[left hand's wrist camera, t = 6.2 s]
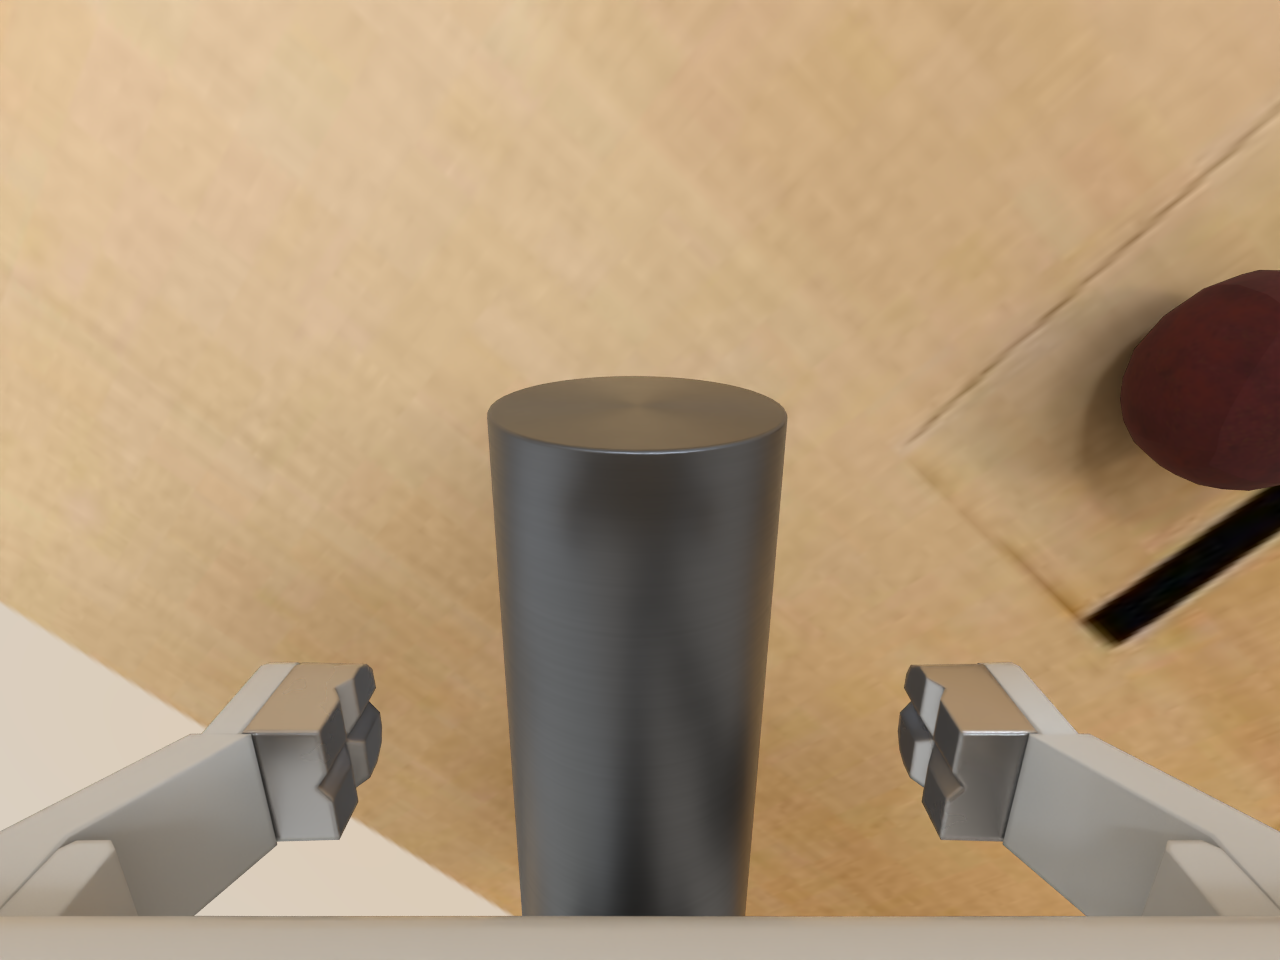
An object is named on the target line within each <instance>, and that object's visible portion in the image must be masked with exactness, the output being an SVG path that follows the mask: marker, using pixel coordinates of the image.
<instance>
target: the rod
mask: <svg viewBox="0 0 1280 960" xmlns="http://www.w3.org/2000/svg"><path fill="white" fill-rule="evenodd" d="M487 420H488V434H489V449H490V463H491V477H492V491H493V506H494V520H495V534H496V548H497V562H498V577H499V591H500V605H501V619H502V633H503V648H504V662H505V676H506V690H507V705H508V719H509V733H510V747H511V761H512V776H513V790H514V804H515V818H516V832H517V847H518V861H519V875H520V889H521V903H522V916H745V909H746V898H747V886H748V874H749V862H750V851H751V839H752V827H753V815H754V804H755V792H756V780H757V768H758V757H759V745H760V733H761V721H762V710H763V698H764V686H765V675H766V663H767V651H768V639H769V628H770V616H771V604H772V592H773V581H774V569H775V557H776V545H777V534H778V522H779V510H780V498H781V487H782V475H783V463H784V451H785V440H786V428H787V414H786V412H785V410H784V408H783V407H782V406H781V405H780V404H779V403H777V402H776V401H774V400H773V399H771V398H769V397H766V396H764V395H762V394H759V393H756V392H753V391H750V390H747V389H743V388H740V387H735V386H731V385H726V384H721V383H715V382H709V381H702V380H693V379H683V378H670V377H647V376H619V377H596V378H584V379H574V380H566V381H559V382H552V383H547V384H542V385H537V386H533V387H529V388H525V389H522V390H519V391H516V392H513V393H511V394H508V395H506V396H504V397H502V398H500V399H499V400H497V401H496V402H495V403H493V404H492V405H491V407H490V409H489V410H488V415H487Z"/></svg>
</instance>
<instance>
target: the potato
mask: <svg viewBox="0 0 1280 960" xmlns="http://www.w3.org/2000/svg"><path fill="white" fill-rule="evenodd" d="M1120 401H1121V408H1122V414H1123V420H1124V423H1125V425H1126V427H1127V429H1128V431H1129V433H1130V435H1131V437H1132V439H1133V441H1134V442H1135V443H1136V444H1137V445H1138V446H1139V447H1140V448H1141V449H1142V450H1143V451H1144V452H1145V453H1146V454H1147V455H1149V456H1150V457H1151V458H1152V459H1153V460H1154V461H1155V462H1156V463H1158V464H1159V465H1160V466H1162V467H1163V468H1165V469H1167V470H1168V471H1170V472H1172V473H1174V474H1175V475H1178V476H1180V477H1182V478H1184V479H1187V480H1189V481H1191V482H1194V483H1196V484H1198V485H1204V486H1209V487H1214V488H1220V489H1230V490H1246V491H1250V490H1255V489H1261V488H1266V487H1272V486H1277V485H1280V270H1257V271H1253V272H1250V273H1246V274H1242V275H1239V276H1236V277H1234V278H1231V279H1228V280H1226V281H1223V282H1220V283H1218V284H1215V285H1212V286H1210V287H1207V288H1204V289H1202V290H1201V291H1200V292H1198V293H1197V294H1195V295H1194V296H1192V297H1191V298H1189V299H1188V300H1186V301H1185V302H1183V303H1182V304H1181V305H1179V306H1178V307H1176V308H1175V309H1173V310H1172V311H1170V312H1169V313H1167V314H1166V315H1165V316H1163V317H1162V319H1161V320H1160V321H1159V322H1158V323H1157V324H1156V325H1155V327H1154V328H1153V329H1152V330H1151V331H1150V332H1149V333H1148V334H1147V336H1146V337H1145V338H1144V339H1143V340H1142V341H1141V342H1140V343H1139V345H1138V346H1137V347H1136V348H1135V349H1134V351H1133V354H1132V357H1131V359H1130V362H1129V364H1128V367H1127V369H1126V371H1125V374H1124V376H1123V381H1122V389H1121V397H1120Z"/></svg>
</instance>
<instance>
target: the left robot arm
mask: <svg viewBox="0 0 1280 960" xmlns="http://www.w3.org/2000/svg"><path fill="white" fill-rule="evenodd" d="M375 689H376V685H375V680H374V675H373V670H372V669H371V668H370V667H369V666H368V665H367V664H341V663H267V664H264V665H261V666H260V667H259V668H258V670H257V671H256V672H255V673H254V674H253V675H252V676H251V678H250V679H249V680H248V681H247V682H246V683H245V684H244V686H243V687H242V688H241V689H240V690H239V691H238V692H237V694H236V695H235V696H234V697H233V698H232V699H231V700H230V702H229V703H228V704H227V705H226V706H225V707H224V708H223V710H222V711H221V712H220V713H219V714H218V715H217V716H216V718H215V719H214V720H213V721H212V722H211V723H210V724H209V726H208V727H207V728H206V729H205V730H204V731H203V732H202V734H189V735H187V736H185V737H183V738H181V739H180V740H178V741H176V742H174V743H172V744H170V745H168V746H166V747H164V748H162V749H160V750H158V751H156V752H154V753H152V754H150V755H148V756H146V757H144V758H142V759H140V760H139V761H137V762H135V763H133V764H131V765H129V766H127V767H125V768H123V769H121V770H119V771H117V772H115V773H113V774H111V775H109V776H107V777H105V778H103V779H101V780H100V781H98V782H96V783H94V784H92V785H90V786H88V787H86V788H84V789H82V790H80V791H78V792H76V793H74V794H72V795H70V796H68V797H66V798H64V799H63V800H61V801H59V802H57V803H55V804H53V805H51V806H49V807H47V808H45V809H43V810H41V811H39V812H37V813H35V814H33V815H31V816H29V817H27V818H25V819H24V820H21V821H20V822H18V823H16V824H14V825H12V826H10V827H8V828H6V829H4V830H2V831H0V960H1280V832H1279V831H1277V830H1276V829H1274V828H1272V827H1270V826H1268V825H1266V824H1264V823H1262V822H1260V821H1258V820H1256V819H1254V818H1252V817H1250V816H1248V815H1246V814H1244V813H1242V812H1241V811H1239V810H1237V809H1235V808H1233V807H1231V806H1229V805H1227V804H1225V803H1223V802H1221V801H1219V800H1217V799H1215V798H1213V797H1211V796H1209V795H1207V794H1206V793H1204V792H1202V791H1200V790H1198V789H1196V788H1194V787H1192V786H1190V785H1188V784H1186V783H1184V782H1182V781H1180V780H1178V779H1176V778H1174V777H1172V776H1170V775H1169V774H1167V773H1165V772H1163V771H1161V770H1159V769H1157V768H1155V767H1153V766H1151V765H1149V764H1147V763H1145V762H1143V761H1141V760H1139V759H1137V758H1135V757H1134V756H1132V755H1130V754H1128V753H1126V752H1124V751H1122V750H1120V749H1118V748H1116V747H1114V746H1112V745H1110V744H1108V743H1106V742H1104V741H1102V740H1100V739H1099V738H1097V737H1095V736H1093V735H1091V734H1078V733H1077V731H1076V730H1075V729H1074V728H1073V727H1072V726H1071V725H1070V723H1069V722H1068V721H1067V720H1066V719H1065V718H1064V717H1063V715H1062V714H1061V713H1060V712H1059V711H1058V710H1057V708H1056V707H1055V706H1054V705H1053V704H1052V703H1051V702H1050V700H1049V699H1048V698H1047V697H1046V696H1045V695H1044V694H1043V692H1042V691H1041V690H1040V689H1039V688H1038V687H1037V686H1036V684H1035V683H1034V682H1033V681H1032V680H1031V679H1030V678H1029V676H1028V675H1027V674H1026V673H1025V672H1024V671H1023V670H1022V668H1021V667H1020V666H1018V665H1016V664H1014V663H1012V662H999V663H978V664H940V665H911V666H910V668H909V670H908V672H907V674H906V679H905V685H904V689H905V691H906V692H907V694H908V696H909V698H910V699H911V702H910V703H909V704H908V705H907V706H906V707H905V708H904V709H903V710H902V711H901V712H900V718H899V726H898V738H899V749H900V753H901V757H902V760H903V764H904V766H905V768H906V770H907V772H908V774H909V777H910V778H911V779H913V780H914V781H916V782H917V783H918V784H920V785H921V786H922V787H924V791H923V797H922V803H923V805H924V807H925V809H926V811H927V813H928V815H929V817H930V819H931V821H932V823H933V825H934V827H935V829H936V831H937V833H938V835H939V837H940V839H941V840H970V841H1003V845H1004V846H1005V847H1006V848H1007V849H1009V850H1010V851H1011V852H1012V853H1013V854H1014V855H1016V856H1017V857H1018V858H1019V859H1020V860H1022V861H1023V862H1024V863H1025V864H1026V865H1027V866H1029V867H1030V868H1031V869H1032V870H1033V871H1034V872H1036V873H1037V874H1038V875H1039V876H1040V877H1041V878H1043V879H1044V880H1045V881H1046V882H1047V883H1048V884H1050V885H1051V886H1052V887H1053V888H1054V889H1055V890H1057V891H1058V892H1059V893H1060V894H1061V895H1062V896H1064V897H1065V898H1066V899H1067V900H1068V901H1069V902H1071V903H1072V904H1073V905H1074V906H1075V907H1077V908H1078V909H1079V910H1080V911H1081V912H1082V913H1084V914H1085V915H1086V916H194V915H195V914H197V913H198V912H199V911H200V910H201V909H202V908H204V907H205V906H206V905H207V904H208V903H210V902H211V901H212V900H213V899H214V898H215V897H217V896H218V895H219V894H220V893H221V892H222V891H224V890H225V889H226V888H227V887H228V886H229V885H231V884H232V883H233V882H234V881H235V880H236V879H238V878H239V877H240V876H241V875H242V874H244V873H245V872H246V871H247V870H248V869H249V868H251V867H252V866H253V865H254V864H255V863H256V862H258V861H259V860H260V859H261V858H262V857H263V856H265V855H266V854H267V853H268V852H269V851H271V850H272V849H273V848H274V847H275V846H276V845H277V841H309V840H339V839H340V837H341V835H342V833H343V831H344V829H345V827H346V825H347V823H348V821H349V819H350V817H351V815H352V813H353V811H354V809H355V807H356V805H357V803H358V797H357V791H356V787H358V786H359V785H360V784H362V783H363V782H364V781H366V780H367V779H369V778H370V777H371V774H372V772H373V770H374V768H375V766H376V764H377V761H378V756H379V752H380V747H381V743H382V724H381V717H380V712H379V711H378V710H377V709H376V708H375V707H374V706H373V705H372V704H371V703H370V702H369V699H370V698H371V696H372V694H373V692H374V691H375Z"/></svg>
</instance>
